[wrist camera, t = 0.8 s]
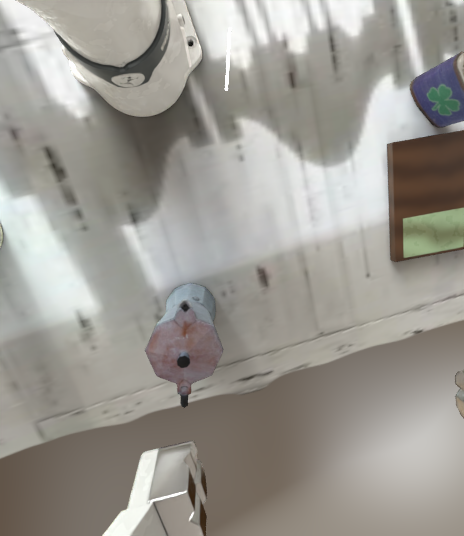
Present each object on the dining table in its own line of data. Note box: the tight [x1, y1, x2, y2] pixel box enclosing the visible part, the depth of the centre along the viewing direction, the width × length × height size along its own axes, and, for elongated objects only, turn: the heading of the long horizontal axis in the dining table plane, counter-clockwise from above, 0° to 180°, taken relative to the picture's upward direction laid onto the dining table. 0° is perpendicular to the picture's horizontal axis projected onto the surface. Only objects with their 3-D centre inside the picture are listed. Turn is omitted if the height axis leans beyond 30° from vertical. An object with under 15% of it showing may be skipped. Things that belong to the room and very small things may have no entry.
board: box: [387, 130, 464, 262], centre depth 50 cm, size 20×14×2 cm
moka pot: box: [145, 283, 223, 408], centre depth 43 cm, size 10×15×20 cm, turn 1°
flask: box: [410, 52, 464, 128], centre depth 42 cm, size 9×3×11 cm, turn 44°
